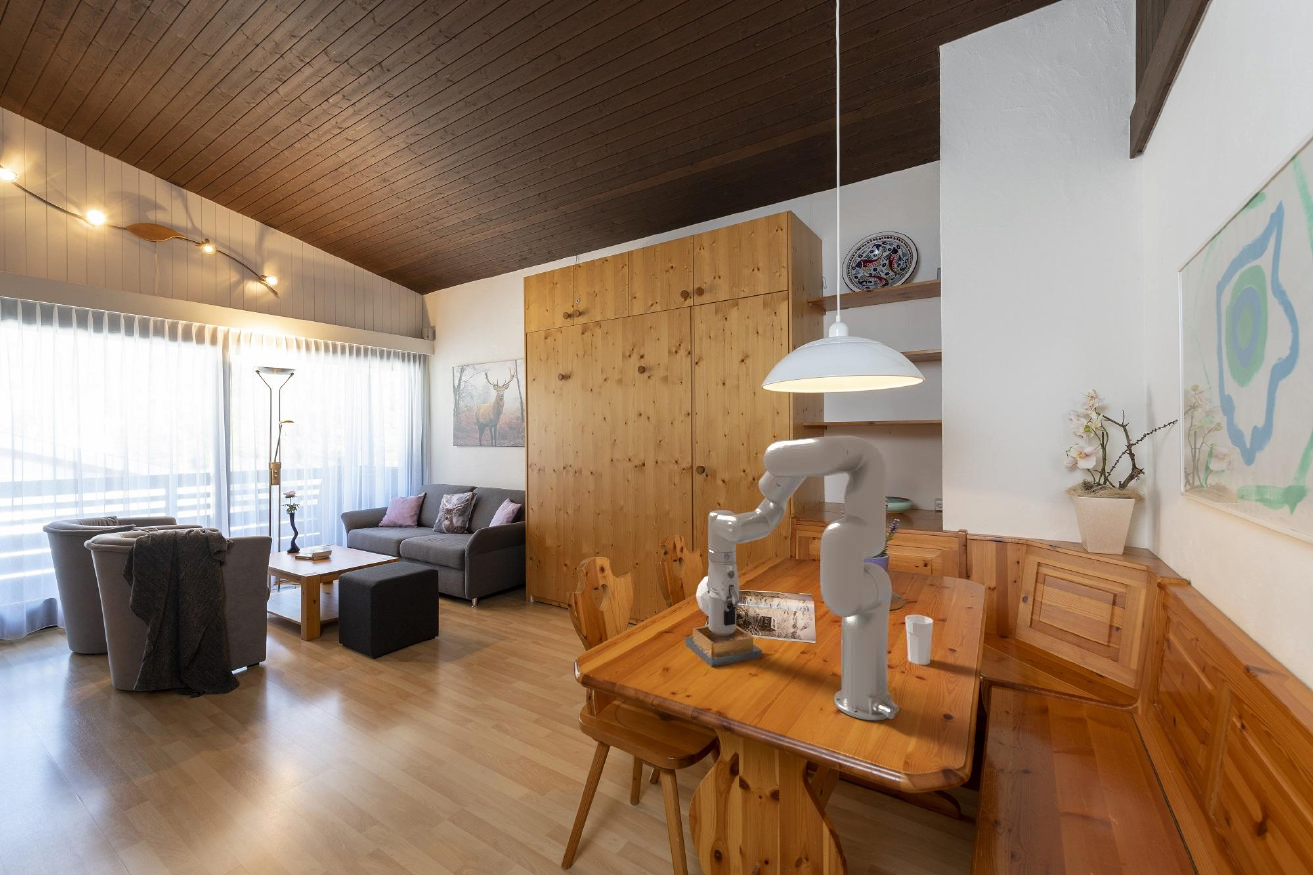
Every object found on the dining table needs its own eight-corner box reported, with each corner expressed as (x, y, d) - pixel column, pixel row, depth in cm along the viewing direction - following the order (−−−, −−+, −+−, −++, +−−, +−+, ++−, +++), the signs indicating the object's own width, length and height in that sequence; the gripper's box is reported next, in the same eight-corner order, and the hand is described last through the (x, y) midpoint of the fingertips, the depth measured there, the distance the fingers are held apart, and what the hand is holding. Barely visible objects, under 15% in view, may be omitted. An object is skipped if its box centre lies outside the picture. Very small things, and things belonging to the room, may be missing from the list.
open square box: (761, 657, 151) (761, 638, 151) (711, 666, 145) (711, 647, 145) (731, 636, 166) (731, 619, 166) (685, 644, 160) (685, 626, 160)
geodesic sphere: (690, 588, 193) (694, 562, 184) (731, 587, 195) (737, 560, 186) (696, 627, 182) (701, 601, 173) (740, 625, 183) (747, 599, 174)
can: (735, 637, 151) (735, 592, 151) (707, 635, 153) (707, 591, 152) (736, 627, 159) (736, 584, 158) (710, 625, 160) (709, 583, 160)
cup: (906, 653, 153) (906, 613, 152) (933, 658, 150) (933, 617, 149) (904, 663, 147) (904, 621, 147) (932, 668, 144) (932, 625, 143)
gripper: (750, 561, 148) (750, 628, 149) (718, 548, 164) (719, 608, 165) (725, 564, 145) (725, 632, 146) (695, 550, 162) (695, 611, 162)
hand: (722, 619), depth 155 cm, fingers closed on can, 7 cm apart
